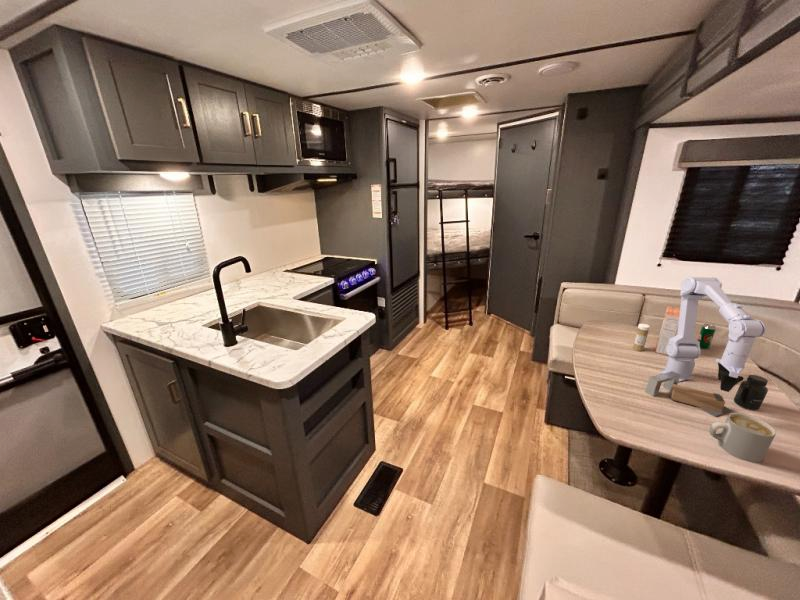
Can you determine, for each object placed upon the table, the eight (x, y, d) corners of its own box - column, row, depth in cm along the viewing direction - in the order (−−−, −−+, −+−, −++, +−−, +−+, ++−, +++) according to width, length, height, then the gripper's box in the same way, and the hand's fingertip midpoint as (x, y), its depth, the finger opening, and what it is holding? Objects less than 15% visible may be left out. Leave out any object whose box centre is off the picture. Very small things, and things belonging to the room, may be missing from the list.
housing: (667, 385, 129) (672, 371, 127) (675, 389, 126) (680, 375, 124) (645, 391, 125) (649, 377, 123) (652, 396, 123) (657, 381, 120)
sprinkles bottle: (644, 349, 157) (651, 325, 152) (641, 352, 155) (648, 327, 150) (634, 346, 161) (641, 322, 156) (630, 348, 158) (637, 324, 154)
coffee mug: (756, 445, 99) (768, 420, 96) (768, 467, 91) (782, 441, 88) (700, 429, 106) (710, 405, 103) (707, 448, 98) (717, 423, 95)
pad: (685, 387, 127) (685, 386, 127) (731, 411, 114) (732, 410, 114) (669, 392, 125) (670, 391, 125) (715, 416, 111) (715, 415, 111)
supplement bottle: (755, 413, 113) (768, 385, 109) (729, 402, 119) (741, 375, 114) (762, 407, 116) (775, 380, 112) (737, 397, 122) (748, 370, 117)
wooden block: (669, 393, 123) (673, 383, 122) (717, 405, 116) (722, 394, 115) (671, 399, 120) (675, 389, 118) (721, 412, 113) (725, 401, 111)
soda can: (696, 343, 162) (703, 322, 158) (709, 346, 159) (717, 325, 155) (694, 346, 159) (702, 325, 155) (708, 350, 156) (716, 328, 152)
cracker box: (656, 342, 164) (667, 305, 157) (671, 345, 161) (683, 308, 153) (653, 352, 155) (665, 313, 147) (669, 356, 151) (682, 316, 144)
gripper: (718, 341, 115) (706, 372, 120) (723, 357, 104) (709, 390, 109) (745, 346, 111) (732, 379, 115) (753, 363, 100) (738, 398, 105)
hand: (723, 385), depth 112 cm, fingers open, 7 cm apart
